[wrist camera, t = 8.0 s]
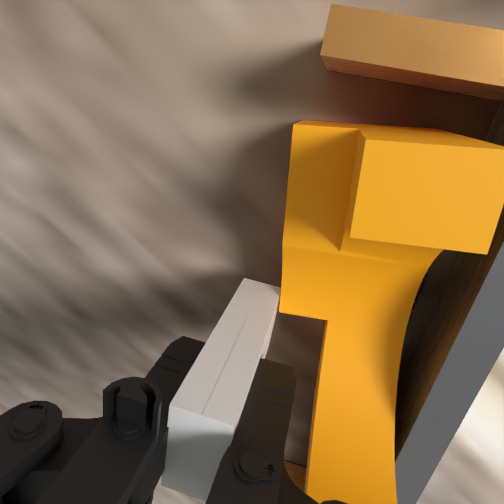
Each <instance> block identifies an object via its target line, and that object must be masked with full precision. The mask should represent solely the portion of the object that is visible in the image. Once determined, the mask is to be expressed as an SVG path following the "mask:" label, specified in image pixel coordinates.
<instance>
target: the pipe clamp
mask: <svg viewBox="0 0 504 504" xmlns="http://www.w3.org/2000/svg"><path fill="white" fill-rule="evenodd" d="M503 205H504V146H500V145H497V144H493V143H489V142H485V141H481V140H478V139H474V138H470V137H466V136H463V135H459V134H455V133H451V132H447V131H444V130H440V129H434V128H419V127H404V126H389V125H374V124H359V123H345V122H330V121H315V120H303V121H300V122H298V123H295V124H293V133H292V144H291V155H290V166H289V177H288V188H287V199H286V210H285V221H284V232H283V243H282V254H283V258H282V282H281V295H280V306H279V312H281V313H287V314H293V315H299V316H305V317H311V318H317V319H323V320H326V321H325V328H324V334H323V341H322V348H321V354H320V361H319V367H318V374H317V380H316V387H315V393H314V402H313V412H312V422H311V432H310V441H309V451H308V461H307V471H306V481H305V491H304V493H306V494H307V495H308V496H310V497H311V498H312V499H314V500H315V501H317V502H318V503H319V504H320V503H322V502H323V501H328V500H338V501H342V502H345V503H348V504H397V495H396V480H395V450H394V439H395V408H396V394H397V384H398V374H399V367H400V360H401V353H402V348H403V342H404V337H405V333H406V328H407V324H408V320H409V316H410V313H411V309H412V306H413V303H414V300H415V297H416V294H417V292H418V289H419V287H420V284H421V282H422V280H423V278H424V276H425V274H426V272H427V270H428V268H429V267H430V265H431V264H432V262H433V261H434V260H435V258H436V257H437V256H438V255H439V254H440V253H441V252H442V251H443V250H444V249H446V250H454V251H462V252H470V253H478V254H486V255H487V254H488V251H489V248H490V245H491V242H492V238H493V235H494V232H495V229H496V226H497V223H498V220H499V217H500V214H501V211H502V208H503Z"/></svg>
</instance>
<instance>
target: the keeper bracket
mask: <svg viewBox="0 0 504 504" xmlns="http://www.w3.org/2000/svg"><path fill="white" fill-rule="evenodd" d="M320 56H321V58H322V60H323V62H324V64H325V66H326V68H327V70H332V71H337V72H343V73H348V74H354V75H360V76H365V77H371V78H377V79H382V80H388V81H393V82H399V83H405V84H410V85H416V86H421V87H427V88H433V89H438V90H444V91H450V92H455V93H461V94H466V95H472V96H478V97H483V98H489V99H494V100H500V103H499V106H498V108H497V110H496V113H495V115H494V118H493V120H492V122H491V125H490V127H489V130H488V132H487V134H486V137H485V139H484V141H485V142H489V143H493V144H497V145H500V146H504V30H499V29H492V28H485V27H479V26H472V25H466V24H459V23H453V22H446V21H439V20H433V19H426V18H420V17H413V16H407V15H400V14H394V13H387V12H380V11H374V10H367V9H361V8H354V7H348V6H341V5H334V4H331V7H330V12H329V16H328V21H327V25H326V30H325V34H324V39H323V44H322V48H321V53H320ZM503 348H504V205H503V208H502V211H501V214H500V217H499V220H498V223H497V226H496V229H495V232H494V235H493V238H492V242H491V245H490V248H489V251H488V254H487V255H486V254H478V253H470V252H462V251H454V250H446V249H444V250H443V251H442V252H441V253H440V254H439V255H438V256H437V257H436V258H435V260H434V262H433V264H432V266H431V269H430V271H429V274H428V276H427V278H426V281H425V283H424V286H423V288H422V290H421V293H420V295H419V298H418V300H417V302H416V305H415V307H414V310H413V312H412V314H411V317H410V319H409V322H408V324H407V328H406V333H405V337H404V342H403V348H402V353H401V360H400V367H399V374H398V384H397V394H396V408H395V439H394V450H395V480H396V495H397V504H416V502H417V501H418V499H419V497H420V495H421V493H422V492H423V490H424V488H425V486H426V485H427V483H428V481H429V479H430V477H431V476H432V474H433V472H434V470H435V469H436V467H437V465H438V463H439V461H440V460H441V458H442V456H443V454H444V453H445V451H446V449H447V447H448V445H449V444H450V442H451V440H452V438H453V437H454V435H455V433H456V431H457V429H458V428H459V426H460V424H461V422H462V421H463V419H464V417H465V415H466V413H467V412H468V410H469V408H470V406H471V405H472V403H473V401H474V399H475V397H476V396H477V394H478V392H479V390H480V389H481V387H482V385H483V383H484V381H485V380H486V378H487V376H488V374H489V373H490V371H491V369H492V367H493V365H494V364H495V362H496V360H497V358H498V357H499V355H500V353H501V351H502V349H503ZM284 464H285V468H286V471H287V473H288V475H289V477H290V478H291V480H292V481H293V482H294V483H295V485H296V486H297V487H298V488H300V489H301V490H302V491H303V492H304V491H305V481H306V471H307V468H305V467H302V466H299V465H296V464H293V463H290V462H287V461H284Z"/></svg>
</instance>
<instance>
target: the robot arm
mask: <svg viewBox="0 0 504 504" xmlns="http://www.w3.org/2000/svg"><path fill="white" fill-rule="evenodd" d="M280 295H281V288H280V287H277V286H273V285H269V284H265V283H262V282H258V281H254V280H250V279H246V278H244V279H243V281H242V282H241V284H240V286H239V287H238V289H237V291H236V293H235V294H234V296H233V298H232V299H231V301H230V303H229V304H228V306H227V308H226V310H225V311H224V313H223V315H222V316H221V318H220V320H219V321H218V323H217V325H216V327H215V328H214V330H213V332H212V333H211V335H210V337H209V338H208V340H207V342H206V343H205V342H202V341H198V340H195V339H192V338H188V337H185V336H182V337H181V338H179V339H177V340H175V341H174V342H172V343H170V344H169V346H168V347H167V348H166V350H165V351H164V353H163V354H162V356H161V357H160V358H159V359H158V361H157V362H156V363H155V366H153V367H152V369H151V370H150V372H149V373H148V374H147V376H146V377H145V378H139V377H129V378H122V379H120V380H118V381H115V382H113V383H111V384H110V385H109V386H107V387H106V388H105V389H104V390H103V417H99V418H91V419H79V418H62V411H61V410H60V409H59V408H58V406H57V405H55V404H53V403H50V402H48V401H31V402H27V403H22V404H20V405H18V406H16V407H14V408H12V409H10V410H8V411H7V412H5V413H3V414H2V415H0V504H152V500H153V492H154V489H155V487H156V485H157V483H158V481H159V479H160V477H161V475H162V482H161V485H162V486H165V487H168V488H170V489H173V490H176V491H179V492H181V493H184V494H187V495H190V496H192V497H195V498H198V499H201V500H203V501H206V504H319V503H318V502H317V501H315V500H314V499H312V498H311V497H310V496H308V495H307V494H306V493H304V492H303V491H302V490H301V489H300V488H298V487H297V486H296V485H295V483H294V482H293V481H292V480H291V478H290V477H289V475H288V473H287V471H286V468H285V464H284V448H285V442H286V437H287V431H288V426H289V420H290V414H291V408H292V403H293V398H294V392H295V386H296V378H295V375H294V372H293V369H292V367H290V366H287V365H283V364H280V363H276V362H273V361H270V360H266V359H265V357H266V353H267V350H268V347H269V343H270V339H271V335H272V330H273V326H274V322H275V317H276V313H277V309H278V304H279V300H280ZM320 504H348V503H345V502H342V501H338V500H328V501H323V502H322V503H320Z"/></svg>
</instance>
